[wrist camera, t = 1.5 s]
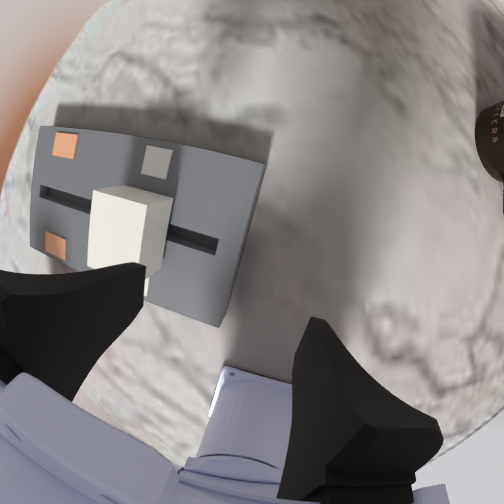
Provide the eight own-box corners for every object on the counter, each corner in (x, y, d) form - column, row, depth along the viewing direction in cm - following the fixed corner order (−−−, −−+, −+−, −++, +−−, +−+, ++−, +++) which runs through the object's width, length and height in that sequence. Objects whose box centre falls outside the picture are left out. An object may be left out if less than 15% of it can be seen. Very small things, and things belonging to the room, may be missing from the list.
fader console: (266, 164, 18) (263, 163, 16) (225, 315, 22) (218, 329, 20) (54, 126, 20) (39, 125, 18) (42, 241, 23) (29, 246, 21)
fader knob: (181, 196, 19) (147, 205, 14) (169, 261, 20) (136, 286, 16) (134, 183, 19) (93, 190, 14) (125, 245, 21) (87, 265, 16)
